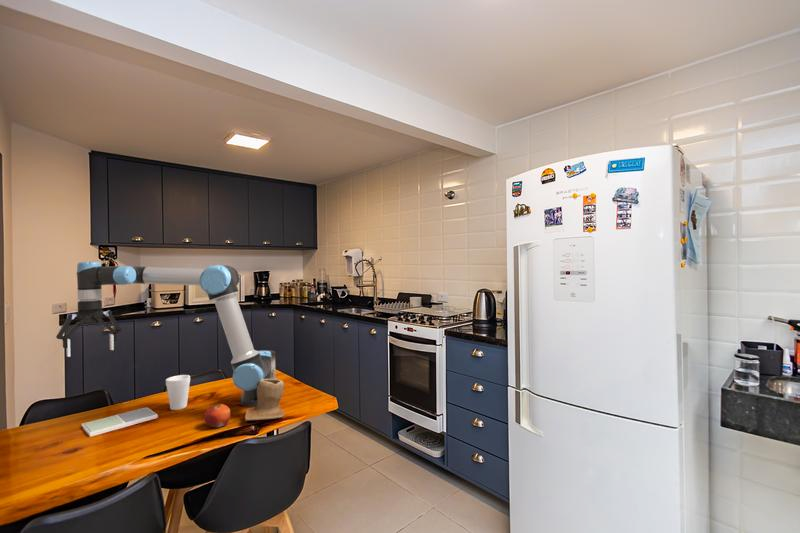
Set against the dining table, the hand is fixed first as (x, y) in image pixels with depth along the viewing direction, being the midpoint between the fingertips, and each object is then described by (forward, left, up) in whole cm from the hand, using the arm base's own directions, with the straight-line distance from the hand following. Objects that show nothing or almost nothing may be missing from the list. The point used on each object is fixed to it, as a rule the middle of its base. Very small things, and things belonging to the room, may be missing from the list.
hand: (90, 352), depth 150 cm
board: (-8, -8, -28) cm, 30 cm away
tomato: (-43, -31, -29) cm, 60 cm away
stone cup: (-51, -46, -28) cm, 74 cm away
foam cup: (-9, -29, -29) cm, 41 cm away
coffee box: (-6, -73, -29) cm, 78 cm away
